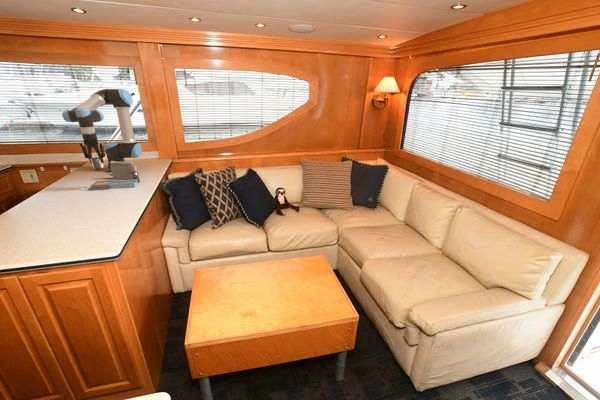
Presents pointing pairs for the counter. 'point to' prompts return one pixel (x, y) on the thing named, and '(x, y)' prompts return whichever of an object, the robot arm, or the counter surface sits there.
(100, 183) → the orange square tile
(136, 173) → the cell
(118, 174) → the geiger counter
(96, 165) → the cell
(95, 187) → the grey square tray
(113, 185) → the trough
